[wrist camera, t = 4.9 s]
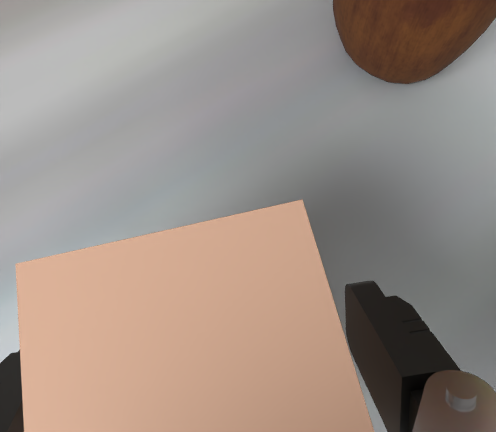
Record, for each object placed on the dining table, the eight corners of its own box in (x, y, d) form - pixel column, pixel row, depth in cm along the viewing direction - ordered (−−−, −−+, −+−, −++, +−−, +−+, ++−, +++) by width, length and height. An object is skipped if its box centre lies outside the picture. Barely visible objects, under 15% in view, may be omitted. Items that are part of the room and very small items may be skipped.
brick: (146, 332, 17) (15, 263, 7) (274, 301, 17) (302, 199, 8) (169, 480, 15) (33, 633, 6) (311, 441, 15) (403, 525, 6)
